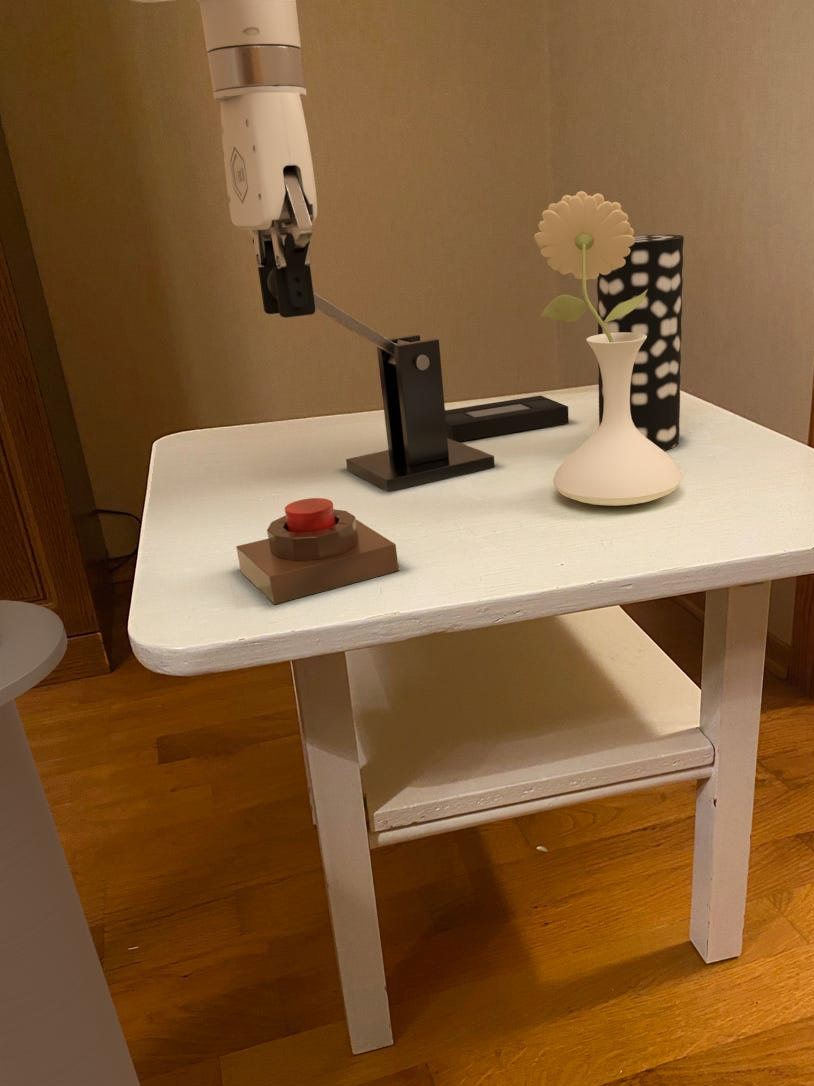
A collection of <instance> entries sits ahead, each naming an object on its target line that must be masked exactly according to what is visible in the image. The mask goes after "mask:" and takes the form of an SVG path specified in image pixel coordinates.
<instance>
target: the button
mask: <svg viewBox="0 0 814 1086" xmlns="http://www.w3.org/2000/svg"><path fill="white" fill-rule="evenodd" d="M334 509H335V508H334V503H333V501H332V500H330V499H328V498H324V497H323V498H321V497H313V498H304V499H299V500H295V501H293V502H290V503H288V504H287V505H285V507H284V513H285V514H284V515H286V520H287V526H288V531H290V532H297V533H304V532H316V531H320V530H324V529H328V528H330V527H332V526H334V525H336V523H335V516H334Z"/></svg>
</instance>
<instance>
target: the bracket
mask: <svg viewBox="0 0 814 1086" xmlns="http://www.w3.org/2000/svg"><path fill="white" fill-rule="evenodd" d="M388 339H389V340H390V341H392V342H394V343H395V344H397V342H398V340H402V341H406V342H409V343H403V344H397V345H394V353H395V362H396V367H395V366H393V365H392V364H390V363H388V360H389V358H390V356H391V355H390V354H389V353H387V352H386V351H384V350H382V349H381V348H379V347H377V346H376V352H377V360H378V369H379V378H380V387H381V396H382V405H383V414H384V422H385V432H386V440H387V449H386V450H383V451H382V450H381V451H378V452H373V453H368V454H363V455H359V456H354V457H349V458H345V464H346V470H347V471H348V472H350V473H352V474H354V475H355V476H357V477H359V478H361V479H363V480H365V481H367V482H368V483H371V484H372V485H374V486H376V487H378V488H380V489H382V490H384V491H385V492H387V493H390V492H394V491H398V490H403V489H407V488H410V487H412V488H413V487H416V486H419V485H420V486H421V485H424V484H429V483H434V482H438V481H441V480H446V479H449V478H454V477H459V476H463V475H467V474H471V473H476V472H480V471H486V470H488V469H489V470H490V469H492V468H495V467H496V466H495V465H496V464H495V456H494V455H493V454H490V453H487V452H485V451H482V450H480V449H477V448H475V447H472V446H470V445H467V444H465V443H462V442H460V441H459V442H457V441H454V440H452V439H449V438H447V429H446V417H445V410H446V407H445V406H446V405H445V395H444V384H443V371H442V360H441V348H440V339H438V338H429V339H423V340H421V335H419V334H409V335H403V336H397V337H391V338H388Z"/></svg>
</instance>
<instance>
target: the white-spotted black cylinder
mask: <svg viewBox="0 0 814 1086" xmlns="http://www.w3.org/2000/svg"><path fill="white" fill-rule="evenodd" d="M632 236H633V237H634V238H635V243H634V244H633V245H632V246H630V247H629V248H630V254H629V255H628V256H625V257H623V258H624V259H625V261H626V263H625V265H624V266H622V267H620V268H617V269H615V270H611V272H610V273H609V274H607V275H603V274H601V273H599V276H598V277H597V278H596V308H597V309H596V312H597V314H598V315H599V317H600V318H601V319H602V321H603V322H604V321H605V319H606V318H607V316H608V315H609V314H610V312H611V311H612V310H613V309H614V308H615V307H616V306H618V305H619V304H621V303H623V302H625V301H628V300H630V299H633V298H635V297H637V296H639V295H641V294H642V293H643V292H645V291H646V290H647V289H648V290H647V292H646V295H645V297H644V298H643V300H642V301H641V303H640V304H639V305H638V306H637V307H636V308H635V309H634V310H632V311H631V312H630V313H628V314H626V315H625V316H623V317H620V318H618V319H614V320H612V321H609V322H604V324H605V325H606V327H607V329H608V330H609V332H610V333H619V332H632V333H641V334H645V335H646V336H647V338H646V340H645V341H644V342H643V344H642V345H641V347H640V349H639V351H638V353H637V355H636V358H635V361H634V365H633V370H632V375H631V384H630V413H631V418H632V421H633V423H634V426H635V427H636V428H637V429H638V431H639V432H640V433H641V434H643V435H644V436H645V437H646V438H647V439H649V440H650V441H651V442H653V443H654V444H655V445H657V446H658V447H659V448H660V449H662V450H663V451H664V452H665V451H668V450H670V449H673V448H675V447H676V446H678V445H679V444H680V426H681V425H680V422H681V420H680V418H681V375H682V334H683V333H682V331H683V330H682V327H683V289H684V288H683V287H684V243H685V242H684V241H685V240H684V239H685V238H684V237H685V236H684V235H682V234H646V235H632ZM599 334H605V332H604V330H603V329H602V327H601V325H600V324H599V323H598V322H597V335H599ZM597 368H598V369H597V376H598V377H597V378H598V384H597V385H598V428H599V427H600V425H601V422H602V418H603V412H604V393H603V382H602V375H601V370H600V366H599V363H598V362H597Z"/></svg>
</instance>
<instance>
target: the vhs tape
mask: <svg viewBox="0 0 814 1086" xmlns="http://www.w3.org/2000/svg"><path fill="white" fill-rule="evenodd" d="M445 417H446V429H447V438H449V439H452V440H454V441H457V442H459V443H460V442H465V441H471V440H476V439H481V438H482V439H483V438H488V437H489V438H490V437H494V436H500V435H505V434H512V433H518V432H523V431H529V430H535V429H541V428H547V427H552V426H553V427H554V426H559V425H565V424H569V423H570V422H569V406H568V405H566V404H564V403H561V402H559V401H556V400H553V399H551V398H549V397H545V396H543V395H534V396H527V397H520V398H515V399H509V400H503V401H502V400H501V401H495V402H488V403H483V404H476V405H471V406H464V407H457V408H452V409H445Z"/></svg>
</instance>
